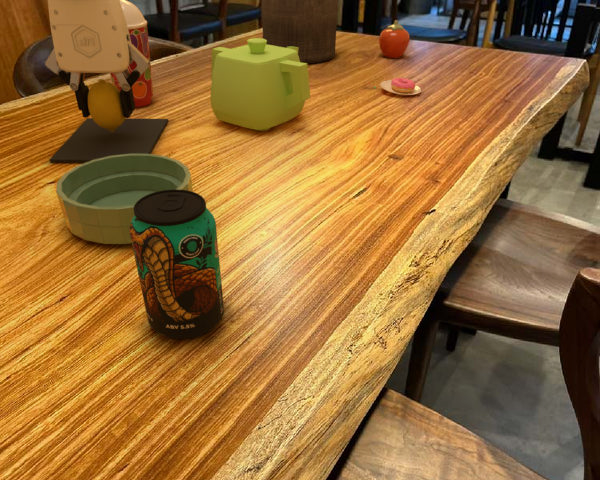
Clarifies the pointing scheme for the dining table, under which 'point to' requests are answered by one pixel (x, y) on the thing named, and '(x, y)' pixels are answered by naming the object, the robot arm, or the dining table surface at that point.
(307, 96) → the teapot
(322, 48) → the planter
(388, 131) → the dining table surface
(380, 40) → the tomato
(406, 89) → the donut
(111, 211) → the bowl
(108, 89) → the lemon
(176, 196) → the beverage can
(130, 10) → the smoothie
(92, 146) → the mat
